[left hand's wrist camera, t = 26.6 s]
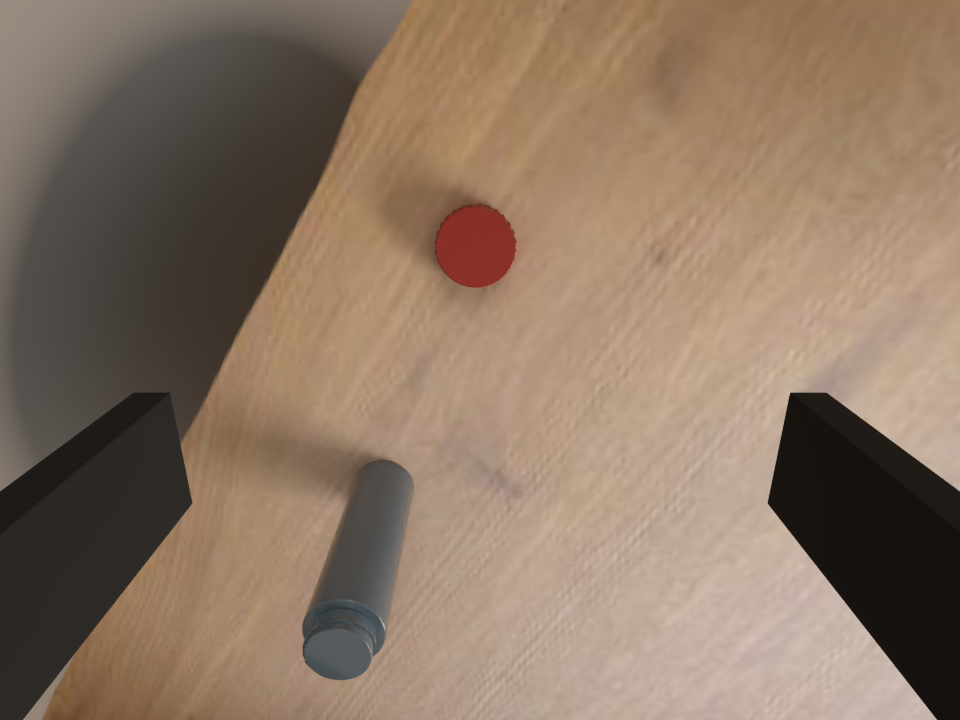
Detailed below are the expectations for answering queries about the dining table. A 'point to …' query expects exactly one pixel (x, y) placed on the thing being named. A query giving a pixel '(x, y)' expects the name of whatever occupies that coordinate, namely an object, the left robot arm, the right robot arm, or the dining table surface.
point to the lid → (475, 245)
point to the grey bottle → (359, 574)
